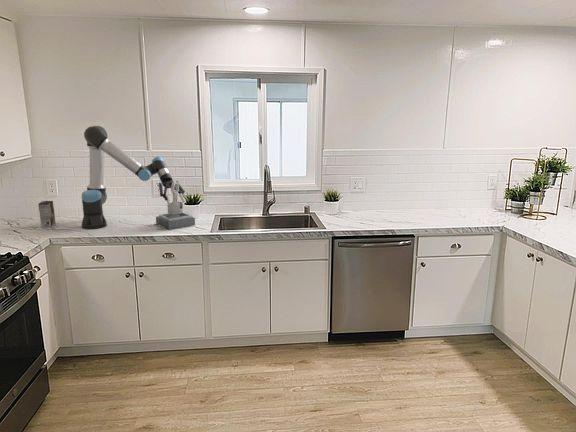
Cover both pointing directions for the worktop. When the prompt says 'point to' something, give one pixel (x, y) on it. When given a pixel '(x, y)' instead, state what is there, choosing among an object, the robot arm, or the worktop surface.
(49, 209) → the coffee box
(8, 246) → the worktop surface
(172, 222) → the grey square tray
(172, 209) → the engine component
